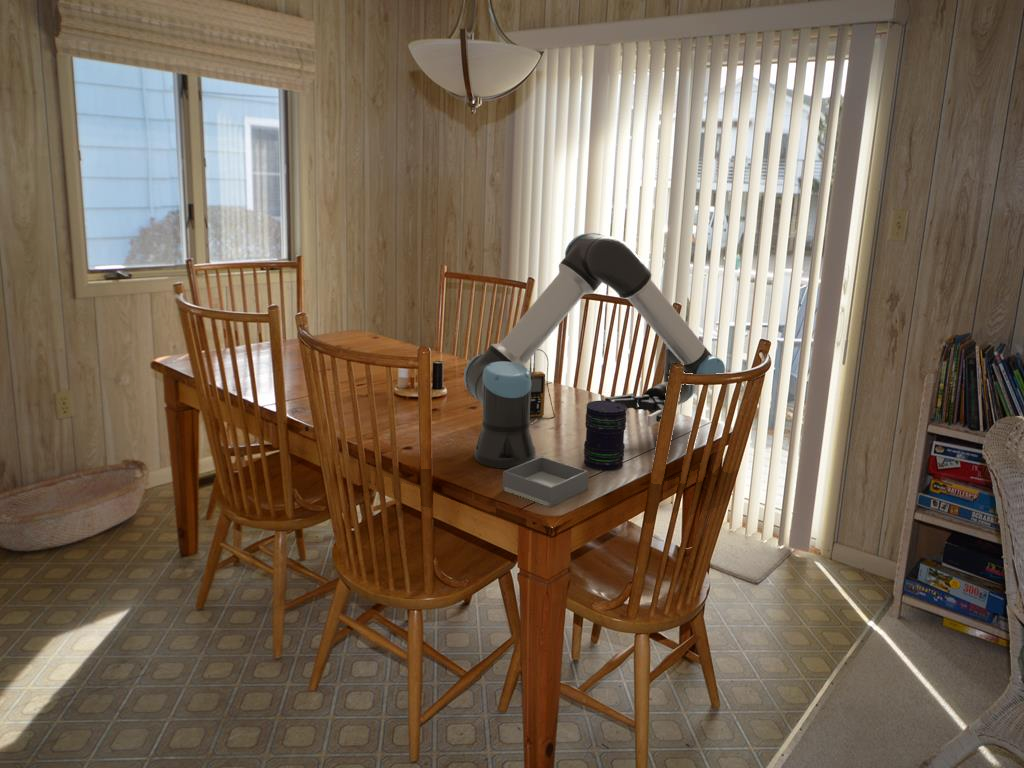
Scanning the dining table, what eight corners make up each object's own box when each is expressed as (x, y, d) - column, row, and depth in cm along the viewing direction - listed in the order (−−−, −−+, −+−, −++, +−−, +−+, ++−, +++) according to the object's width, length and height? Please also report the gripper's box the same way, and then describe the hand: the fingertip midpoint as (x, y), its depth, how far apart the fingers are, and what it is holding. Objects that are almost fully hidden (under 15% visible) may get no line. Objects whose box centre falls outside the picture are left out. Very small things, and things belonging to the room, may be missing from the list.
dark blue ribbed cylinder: (579, 468, 190) (582, 409, 186) (587, 455, 199) (590, 398, 195) (619, 473, 187) (623, 413, 183) (626, 460, 196) (630, 402, 192)
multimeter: (514, 426, 220) (516, 357, 215) (505, 416, 229) (507, 349, 224) (564, 423, 224) (567, 355, 219) (553, 413, 233) (555, 347, 228)
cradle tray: (502, 490, 175) (503, 471, 174) (540, 474, 185) (541, 456, 184) (550, 507, 167) (551, 487, 166) (587, 489, 177) (588, 471, 176)
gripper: (703, 420, 209) (669, 440, 192) (620, 403, 223) (581, 420, 206) (705, 393, 207) (671, 411, 190) (621, 377, 221) (582, 393, 204)
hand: (624, 416), depth 198 cm, fingers open, 13 cm apart
